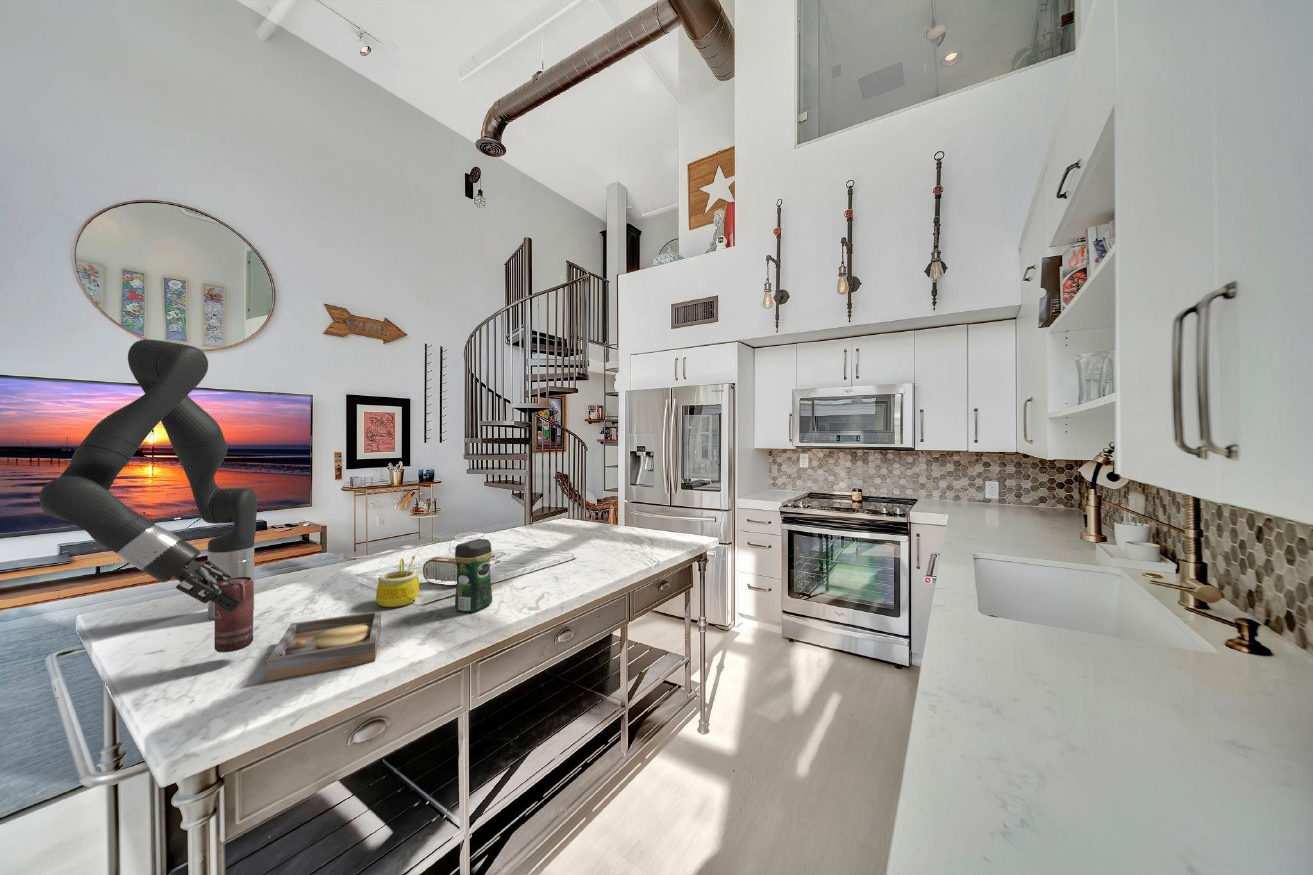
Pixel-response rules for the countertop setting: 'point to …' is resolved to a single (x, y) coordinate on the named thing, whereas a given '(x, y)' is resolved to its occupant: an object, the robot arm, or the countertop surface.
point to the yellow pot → (397, 587)
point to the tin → (440, 569)
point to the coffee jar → (473, 575)
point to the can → (235, 616)
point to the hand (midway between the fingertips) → (239, 601)
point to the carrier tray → (325, 645)
